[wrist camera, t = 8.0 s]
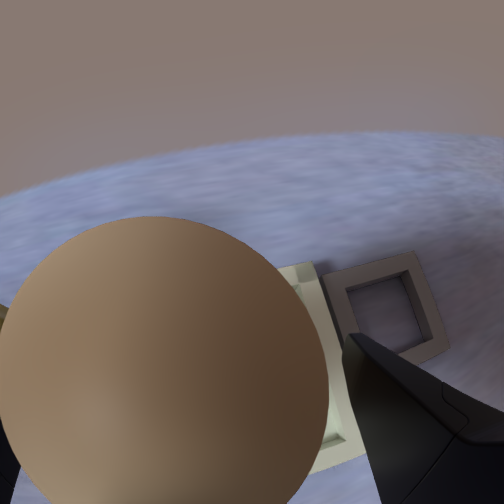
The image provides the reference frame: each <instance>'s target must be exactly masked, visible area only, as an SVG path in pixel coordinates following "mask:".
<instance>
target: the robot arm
mask: <svg viewBox="0 0 504 504" xmlns="http://www.w3.org/2000/svg"><path fill="white" fill-rule="evenodd" d="M341 360H342V366H343V371H344V375H345V380H346V385H347V390H348V395H349V400H350V403H351V407H352V410H353V413H354V416H355V419H356V422H357V425H358V428H359V431H360V434H361V438H362V441H363V444H364V447H365V450H366V453H367V457H368V460H369V463H370V466H371V469H372V473H373V476H374V479H375V483H376V486H377V489H378V493H379V496H380V500H381V503H382V504H504V412H502V411H500V410H497V409H495V408H493V407H491V406H489V405H487V404H484V403H482V402H480V401H478V400H476V399H474V398H472V397H470V396H468V395H466V394H464V393H462V392H460V391H459V390H457V389H455V388H453V387H451V386H450V385H448V384H446V383H445V382H442V381H441V380H439V379H438V378H436V377H434V376H433V375H431V374H429V373H428V372H426V371H424V370H422V369H421V368H419V367H417V366H416V365H414V364H412V363H411V362H409V361H407V360H406V359H404V358H402V357H401V356H399V355H397V354H395V353H394V352H392V351H390V350H389V349H387V348H385V347H384V346H382V345H380V344H379V343H377V342H375V341H374V340H372V339H370V338H369V337H367V336H365V335H364V334H362V333H349V334H347V336H346V339H345V343H344V348H343V352H342V357H341ZM20 468H21V465H20V463H19V461H18V459H17V458H16V456H15V454H14V452H13V450H12V448H11V446H10V443H9V441H8V438H7V436H6V433H5V431H4V428H3V424H2V421H1V417H0V504H10V502H11V499H12V495H13V491H14V487H15V484H16V481H17V478H18V474H19V471H20Z"/></svg>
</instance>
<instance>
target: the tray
mask: <svg viewBox="0 0 504 504" xmlns="http://www.w3.org/2000/svg"><path fill="white" fill-rule="evenodd" d="M277 270H278V271H279V272H280V273H281V274H282V276H283V277H284V278H285V279H286V280H287V281H288V283H289V284H290V285H291V286H292V287H293V289H294V290H295V291H296V293H297V295H298V296H299V298H300V299H301V301H302V302H303V304H304V305H305V307H306V308H307V310H308V313H309V315H310V317H311V319H312V321H313V323H314V325H315V327H316V329H317V332H318V335H319V338H320V341H321V344H322V347H323V351H324V354H325V360H326V365H327V371H328V377H329V409H328V417H327V425H326V429H325V433H324V437H323V441H322V444H321V448H320V450H319V453H318V455H317V457H316V460H315V462H314V464H313V466H312V469H311V471H310V472H309V474H308V475H310V474H313V473H316V472H319V471H322V470H324V469H327V468H330V467H333V466H335V465H338V464H341V463H343V462H346V461H348V460H351V459H353V458H356V457H358V456H360V455H363V454H365V453H366V450H365V447H364V444H363V441H362V438H361V434H360V431H359V428H358V425H357V422H356V419H355V416H354V413H353V410H352V407H351V403H350V400H349V395H348V390H347V385H346V380H345V375H344V371H343V366H342V360H341V357H342V350H341V347H340V344H339V340H338V337H337V334H336V331H335V328H334V325H333V322H332V319H331V316H330V313H329V310H328V307H327V304H326V301H325V298H324V295H323V292H322V289H321V286H320V283H319V280H318V277H317V274H316V271H315V268H314V266H313V263H312V261H309V262H305V263H301V264H296V265H292V266H288V267H283V268H279V269H277Z"/></svg>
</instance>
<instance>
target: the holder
mask: <svg viewBox="0 0 504 504" xmlns="http://www.w3.org/2000/svg"><path fill="white" fill-rule="evenodd" d="M398 276H401V278H402V281H403V283H404V286H405V288H406V291H407V294H408V296H409V299H410V302H411V304H412V307H413V310H414V313H415V315H416V318H417V321H418V324H419V327H420V330H421V333H422V336H423V339H424V342H423V343H421V344H419V345H416V346H414V347H412V348H410V349H407V350H405V351H403V352H401V353H398V354H397V355H399V356H401V357H402V358H404V359H406V360H407V361H409V362H411V363H412V364H414V365H416V366H417V365H419V364H421V363H423V362H425V361H427V360H429V359H431V358H433V357H435V356H437V355H439V354H441V353H442V352H444V351H446V350H448V349H450V345H449V341H448V338H447V335H446V332H445V329H444V326H443V323H442V320H441V318H440V315H439V312H438V309H437V306H436V304H435V301H434V298H433V296H432V293H431V291H430V288H429V286H428V283H427V280H426V278H425V276H424V273H423V271H422V268H421V266H420V264H419V261H418V259H417V257H416V254H415V252H414V251H411V252H407V253H404V254H400V255H396V256H393V257H389V258H385V259H382V260H378V261H374V262H370V263H367V264H363V265H359V266H355V267H351V268H347V269H343V270H340V271H336V272H332V273H328V274H324V275H321V277H320V278H319V283H320V286H321V289H322V292H323V295H324V298H325V301H326V304H327V307H328V310H329V313H330V316H331V319H332V322H333V325H334V328H335V331H336V334H337V337H338V340H339V344H340V347H341V350H342V352H343V348H344V343H345V339H346V336H347V334H349V333H360V330H359V327H358V324H357V321H356V318H355V315H354V312H353V309H352V307H351V304H350V301H349V298H348V295H347V291H351V290H354V289H358V288H361V287H365V286H368V285H371V284H375V283H378V282H381V281H385V280H388V279H391V278H394V277H398Z"/></svg>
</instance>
